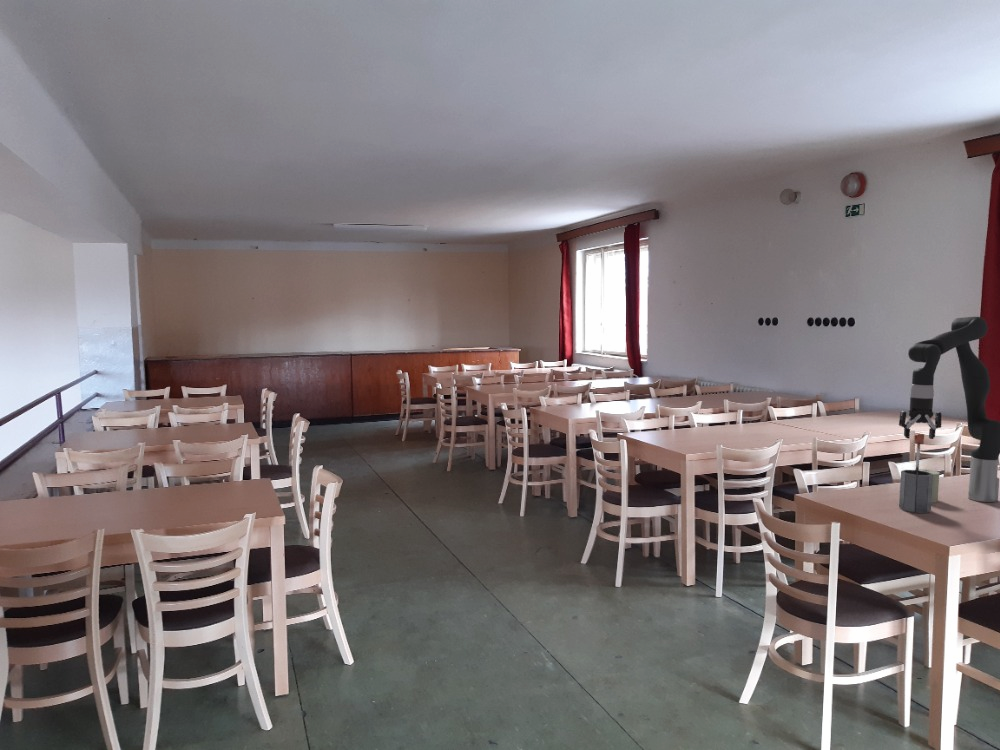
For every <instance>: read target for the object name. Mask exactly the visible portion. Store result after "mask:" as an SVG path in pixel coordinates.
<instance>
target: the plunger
mask: <svg viewBox="0 0 1000 750" xmlns="http://www.w3.org/2000/svg"><path fill="white" fill-rule="evenodd" d="M924 441H925V434H923V433H914V438H913V444H916V460H915V470H916V473H915V475H918V473H919V469H920V456H921V445H923V444H924Z"/></svg>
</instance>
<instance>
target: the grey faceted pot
mask: <svg viewBox="0 0 1000 750" xmlns="http://www.w3.org/2000/svg"><path fill="white" fill-rule="evenodd" d="M915 473H916V469H903V470H900V481H899V483H900V485H899V499H898V500H899V501H898V502H899V503H898V507H899V509H900V510H901V511H904V512H908V513H911V514H912V513H914V514H929V513H931V512H932V503H933V502H932V487H933V474H931V473H929V472H925V471H919V473H918V475H915Z"/></svg>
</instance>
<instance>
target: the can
mask: <svg viewBox="0 0 1000 750" xmlns="http://www.w3.org/2000/svg"><path fill="white" fill-rule="evenodd" d="M919 471H925V472H929V473H931V474H933V487H932V503H937V502H939V487H940V486H939V484H940V471H937V470H932V469H925V468H924V469H923V468H919Z"/></svg>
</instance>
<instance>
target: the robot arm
mask: <svg viewBox="0 0 1000 750" xmlns="http://www.w3.org/2000/svg"><path fill="white" fill-rule="evenodd" d="M950 330H951V331H947V332H942V333H941V334H938V335H936V336H934V337H932V338H931V339H926V340H921V341H919V342H915V343H914V344H912V345H911V346H910V347H909V349H908V353H907V354H908V358H909V359H910V360H911V361H912V362H915V363H925V364H924V366H923V367H921V368H916V369H914V370H913V372H912V377H911V378H912V381H911V388H910V398H909V410H908V411H907V410H906V411H904V410H901V411H900V414H899V421H898V426H899V427H902V428H903V435H904V436H903V437H904V438H906V439H910V437H911V436H910V435H911V429H910V428H911V427H912V426H913V425H915V423H917V424H921V423H922V424H926V425H928V427H929V430H928V439H930V440H934V439H935V438H936V429H941V428H942V413H941V412H940V411H934V412H933V408H934V395H935V394H934V393H935V391H934V381H935V380H934V379H935V378H934V377H935V373H936V369H937V367H938V364H939V362H940V359H941V355H944V354H945V353H948V352H949V351H951V350H953V349H954V348H955V350H956V352H957V353H956V354H957V358H958V362H959V363H958V364H959V368H960V374H961V375H960V376H961V380H962V387H963V392H964V399H965V405H966V411H967V412H966V413H967V415H966V417H967V430H968V433H969V435H970V436H971V438H973V439H975V440H978V441H980V442H979V446H978V447H976V448H973V449H972V450H971V452H970V453H971V454H970V456H971V457H970V468H969V480H968V481H969V483H968V499H970V500H972V501H976V502H982V503H995V502H999V488H1000V478H999V477H998V469H999V468H998V467H999V457H1000V421H998V420H996V419H991V418H988V417H987V411H986V400H987V398H988V396H989V393H990V390H991V380H990V374H989V370H988V368H987V367H986V365H985V364H984V363H983V362H982V361H981V360H980V359H979V357H978V356H977V355H976V354H975V353H974V351H973V350H972V347H971V344H970V342H972V341H973V342H974V341H976V340H981V339H982V338H984V337H985V336H986V334H987V333H988V323H987V321H986V319H984V318H983V317H981V316H966V317H956V318H954V319H953V321H951V329H950ZM908 416H909V418H908V419H907V421H906V418H907V417H908ZM933 417H934V422H933V420H932V418H933Z"/></svg>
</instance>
